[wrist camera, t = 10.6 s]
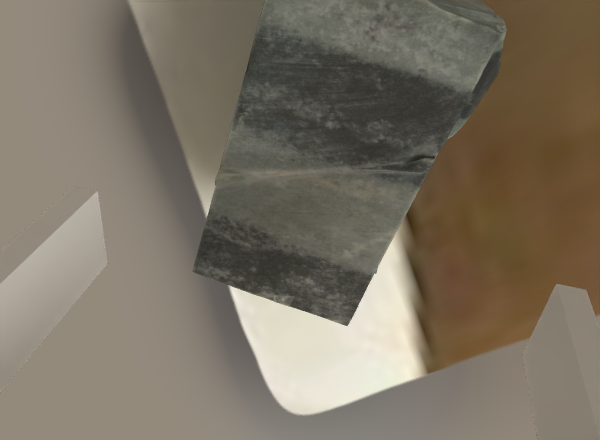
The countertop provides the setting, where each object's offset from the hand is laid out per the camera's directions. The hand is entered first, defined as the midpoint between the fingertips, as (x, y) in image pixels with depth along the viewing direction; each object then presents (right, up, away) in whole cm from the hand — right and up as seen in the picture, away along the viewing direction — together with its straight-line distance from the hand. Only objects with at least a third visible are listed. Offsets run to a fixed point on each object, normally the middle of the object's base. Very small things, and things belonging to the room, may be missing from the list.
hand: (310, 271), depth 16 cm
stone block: (+2, +6, +10) cm, 11 cm away
